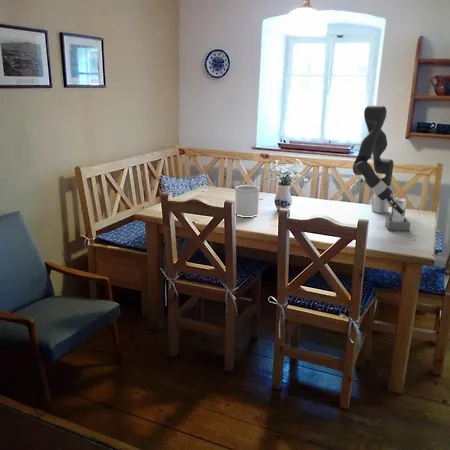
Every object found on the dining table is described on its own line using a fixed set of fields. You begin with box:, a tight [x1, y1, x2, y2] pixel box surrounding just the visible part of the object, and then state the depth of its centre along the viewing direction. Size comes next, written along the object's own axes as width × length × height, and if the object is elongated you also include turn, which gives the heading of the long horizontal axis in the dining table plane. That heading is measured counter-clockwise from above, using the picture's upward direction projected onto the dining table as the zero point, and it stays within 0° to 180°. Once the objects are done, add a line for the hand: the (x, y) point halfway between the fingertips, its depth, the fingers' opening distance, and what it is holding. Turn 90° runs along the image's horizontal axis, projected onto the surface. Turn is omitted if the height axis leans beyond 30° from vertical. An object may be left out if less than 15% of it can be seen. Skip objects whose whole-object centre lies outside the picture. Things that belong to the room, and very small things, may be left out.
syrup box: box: [390, 197, 407, 222], centre depth 259 cm, size 6×6×14 cm
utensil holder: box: [234, 184, 260, 216], centre depth 288 cm, size 15×15×18 cm
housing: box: [384, 216, 411, 233], centre depth 261 cm, size 11×11×5 cm
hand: (401, 211), depth 259 cm, fingers closed on syrup box, 7 cm apart
